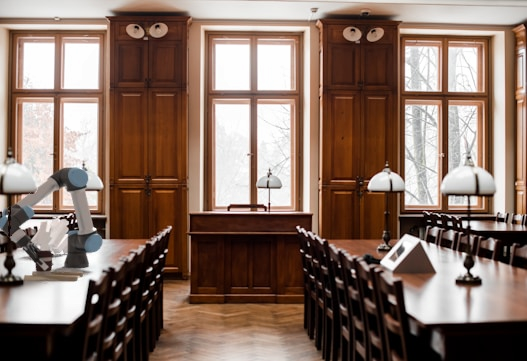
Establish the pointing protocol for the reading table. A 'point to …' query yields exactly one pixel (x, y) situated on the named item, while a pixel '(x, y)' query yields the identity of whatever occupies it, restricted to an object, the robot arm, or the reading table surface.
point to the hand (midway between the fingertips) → (49, 267)
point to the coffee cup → (47, 259)
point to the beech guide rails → (54, 276)
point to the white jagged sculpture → (52, 236)
